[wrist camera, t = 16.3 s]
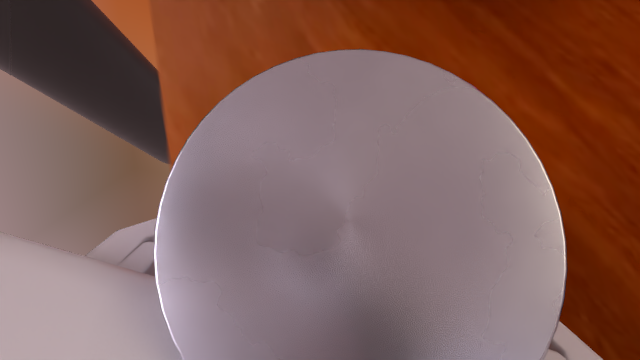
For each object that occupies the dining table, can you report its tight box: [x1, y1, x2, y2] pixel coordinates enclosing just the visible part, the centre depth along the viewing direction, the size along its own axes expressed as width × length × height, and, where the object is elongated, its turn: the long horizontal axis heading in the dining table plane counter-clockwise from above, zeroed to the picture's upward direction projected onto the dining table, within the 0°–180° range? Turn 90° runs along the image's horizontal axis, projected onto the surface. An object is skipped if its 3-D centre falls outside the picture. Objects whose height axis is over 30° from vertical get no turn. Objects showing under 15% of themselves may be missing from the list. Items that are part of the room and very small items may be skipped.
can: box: [153, 49, 567, 360], centre depth 10 cm, size 6×6×12 cm
